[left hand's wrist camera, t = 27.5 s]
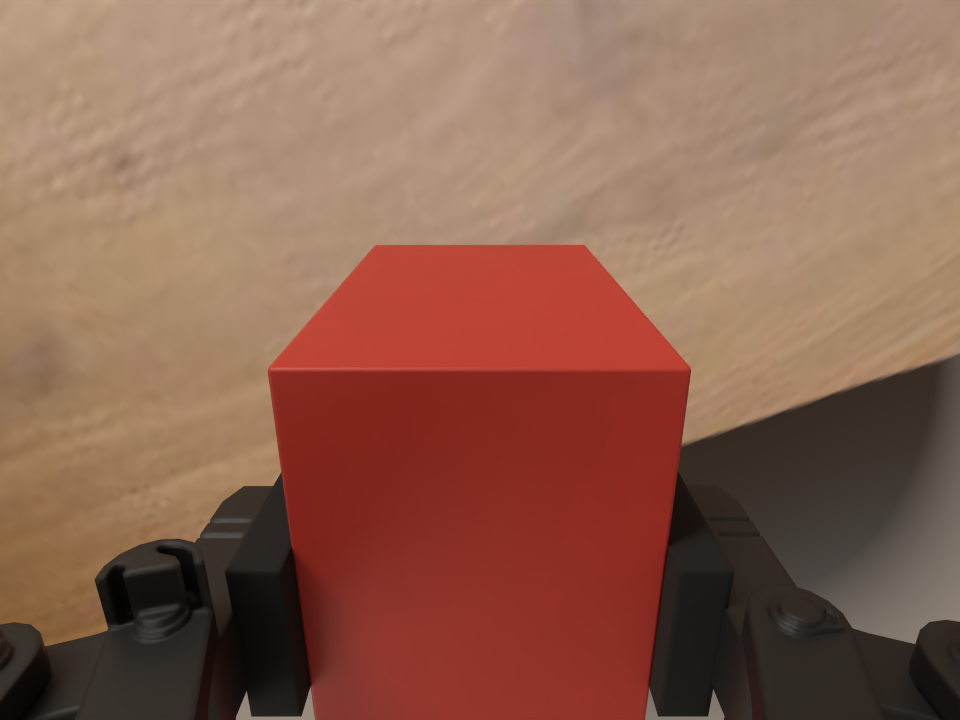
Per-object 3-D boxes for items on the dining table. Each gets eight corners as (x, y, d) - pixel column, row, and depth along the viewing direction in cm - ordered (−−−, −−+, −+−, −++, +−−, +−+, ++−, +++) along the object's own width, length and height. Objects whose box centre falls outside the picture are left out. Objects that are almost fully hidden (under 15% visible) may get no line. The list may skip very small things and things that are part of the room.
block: (569, 507, 18) (636, 795, 11) (391, 507, 19) (323, 795, 11) (585, 244, 16) (693, 367, 8) (374, 244, 16) (265, 367, 8)
